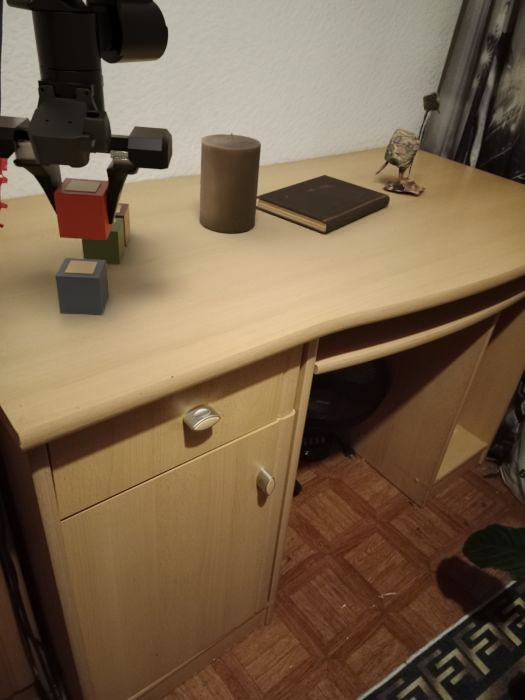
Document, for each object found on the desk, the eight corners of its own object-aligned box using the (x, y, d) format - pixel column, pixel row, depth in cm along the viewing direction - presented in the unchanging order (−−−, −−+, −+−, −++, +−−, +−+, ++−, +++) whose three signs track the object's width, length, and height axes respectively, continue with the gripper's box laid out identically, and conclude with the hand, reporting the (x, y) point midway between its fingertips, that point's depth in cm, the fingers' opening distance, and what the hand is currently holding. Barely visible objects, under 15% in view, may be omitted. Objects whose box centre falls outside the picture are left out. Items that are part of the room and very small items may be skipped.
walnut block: (92, 245, 82) (89, 212, 79) (98, 232, 86) (95, 200, 83) (125, 247, 82) (124, 214, 79) (130, 234, 86) (128, 203, 84)
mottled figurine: (384, 178, 125) (405, 84, 114) (429, 192, 120) (456, 94, 109) (367, 185, 120) (387, 86, 109) (413, 199, 114) (440, 97, 103)
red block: (59, 237, 59) (53, 191, 56) (70, 220, 63) (65, 176, 60) (106, 240, 59) (102, 195, 56) (114, 223, 63) (111, 179, 61)
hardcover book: (254, 208, 101) (256, 196, 100) (322, 185, 117) (324, 174, 116) (325, 235, 94) (327, 222, 92) (388, 206, 109) (390, 195, 108)
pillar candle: (254, 235, 91) (263, 142, 82) (196, 231, 90) (198, 137, 82) (254, 214, 99) (262, 128, 90) (200, 210, 98) (203, 122, 90)
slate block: (59, 313, 65) (54, 275, 63) (69, 293, 70) (65, 256, 67) (102, 315, 66) (99, 277, 63) (109, 295, 70) (106, 259, 67)
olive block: (84, 262, 77) (80, 228, 74) (90, 247, 81) (87, 215, 78) (119, 264, 77) (117, 230, 75) (124, 249, 82) (123, 217, 79)
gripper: (-70, 70, 44) (-28, 246, 53) (160, 90, 46) (163, 257, 55) (-19, 53, 53) (9, 206, 62) (172, 70, 55) (173, 216, 64)
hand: (87, 221), depth 61 cm, fingers closed on red block, 5 cm apart
